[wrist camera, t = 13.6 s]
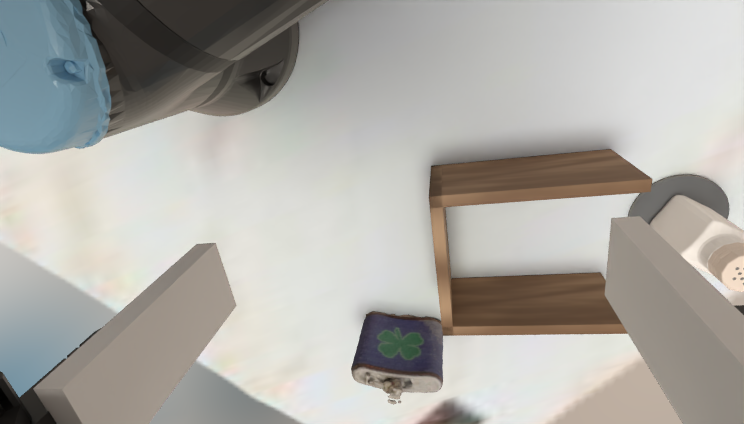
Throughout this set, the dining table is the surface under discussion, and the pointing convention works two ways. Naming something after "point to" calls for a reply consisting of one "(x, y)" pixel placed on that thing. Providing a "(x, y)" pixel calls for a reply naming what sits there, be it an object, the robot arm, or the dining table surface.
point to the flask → (399, 354)
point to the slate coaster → (685, 185)
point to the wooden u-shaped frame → (533, 292)
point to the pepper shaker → (703, 239)
